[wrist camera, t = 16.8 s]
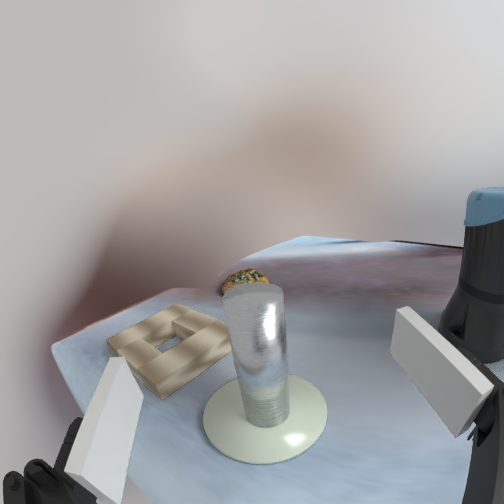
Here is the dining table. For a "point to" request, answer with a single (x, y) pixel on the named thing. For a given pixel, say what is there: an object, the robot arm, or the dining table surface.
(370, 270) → the dining table surface
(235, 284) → the bread roll
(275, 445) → the coaster
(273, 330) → the canister
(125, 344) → the holder block
